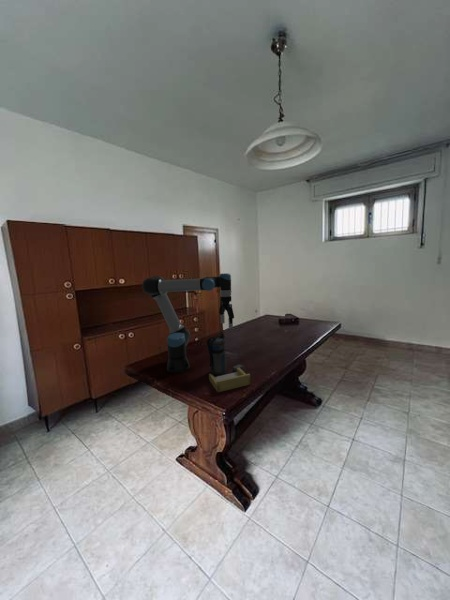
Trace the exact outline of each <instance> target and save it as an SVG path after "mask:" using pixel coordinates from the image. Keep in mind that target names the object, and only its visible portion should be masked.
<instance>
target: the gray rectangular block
mask: <svg viewBox="0 0 450 600" xmlns="http://www.w3.org/2000/svg"><path fill="white" fill-rule="evenodd" d="M237 368H240V369H241V370H242V371H244V370H245V366H244V365H242V364H240V363H239V364H236V365H234V366H232V372H233V373H235V372H237Z"/></svg>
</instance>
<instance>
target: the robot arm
mask: <svg viewBox="0 0 450 600" xmlns="http://www.w3.org/2000/svg"><path fill="white" fill-rule="evenodd" d="M215 288H216V289H217V288H219V291H220V292H219V293H220V295H219V296H220V306H219V309H218V310H219V312H218V313H219V314H220V324H225V323H226V322H225V319H226V318H225V312H226V313H227V316H228V328H229V329H232V328H233V327H234V326H233V325H234V324H233V319H235V315H234V309H233V304H232V303H230V302H232V292H233V291H232V275H231V273H220V274H219V276H203V277H202V278H191V279H186V278H185V279H167V280H166V279H164V278H163V277H162V276H156V275H155V276H151V277H147V278H145V279H144V280H143V281H142V284H141V289H142V291H143V292H144V293H145V294H146V295H149V296H151V298H152V299H153V300H155V301H156V303H157V306H158V307H159V309H160V311H161V314H162V316H163V319H164V320H165V322H166V324H167V326H168V329H169V335H168V336H167V338H166V344H167V352H168V353H167V354H168V360H167V365H166V370H167V372H168V373H171V374H181V373H185V372H187V371H188V370H189V369H190V367H191V366H190V362H189V359H188V356H187V349H186V347H187V345H188V344H189V342H190V341H191V334H190V331H189V330H188V329H186V327H185V325H183V324H181V321H180V319H179V317H178V315H177V313H176V310H175V308H174V307H173V305H172V302H171V300H170V298H169V296H168V293H172V292H173V293H174V292H177V293H178V292H193V291H195V292H196V291H207V292H210V291H213V289H215Z"/></svg>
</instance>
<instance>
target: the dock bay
mask: <svg viewBox="0 0 450 600" xmlns="http://www.w3.org/2000/svg"><path fill="white" fill-rule="evenodd" d="M208 379H209V382H210V383H211V384H212V386H213V388H214V389H215V391H216V392H217V393H220V392H221V393H222V392H225V391H229V390H233V389H237V388H242V387H245V386H250V385H251V374H250V373H246V372H245V371H244V370H243V371H242V370H241V369H240V368H237V372H231V373H227V374H226V373H225V374H222V375H216V376H214V374H212V373H209V374H208Z"/></svg>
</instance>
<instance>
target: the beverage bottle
mask: <svg viewBox="0 0 450 600" xmlns="http://www.w3.org/2000/svg"><path fill="white" fill-rule="evenodd" d="M206 345H207V349H208V353H209V362H210V363H209V367H210V372H211V374H212V375H213V376H214V375H216V376H222V375H225V374H226V372H227V371H228V370H227V367H228V366H227V350H226V349H225V348H226V338H225V335H224V333H223V332H222V333H221V335H220V336H216V335H215V336H212V337H208V338H207V340H206Z"/></svg>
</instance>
